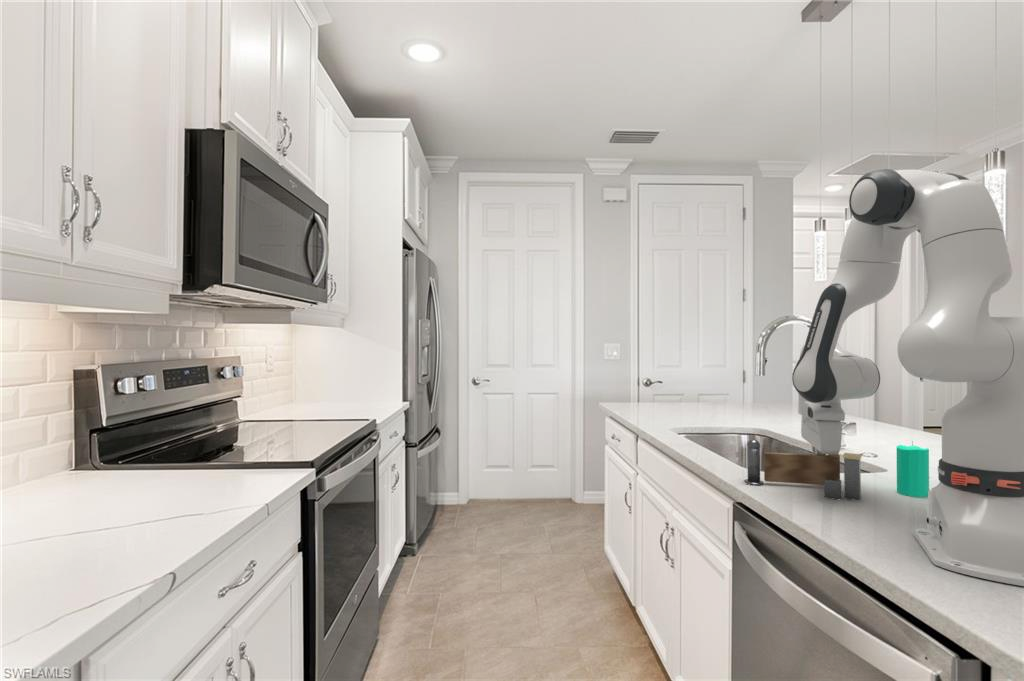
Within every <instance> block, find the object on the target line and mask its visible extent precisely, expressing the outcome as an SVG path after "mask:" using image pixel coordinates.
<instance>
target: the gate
mask: <svg viewBox="0 0 1024 681" xmlns="http://www.w3.org/2000/svg"><path fill="white" fill-rule="evenodd" d="M763 453H764V455H763V460H764V462H763V465H764V473H763V474H764V476H763V477H764V480H763V481H765V482H770V483H783V484H784V483H786V484H787V483H788V484H802V485H803V484H804V485H818V486H819V485H821V486H824V480H825V478H831V479H839V480H841V455H840V453H839V454H826V455H814V454H813V453H811V454H809V453H808V454H807V453H789V452H788V453H787V452H769V451H768V452H767V451H765V452H763Z"/></svg>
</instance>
